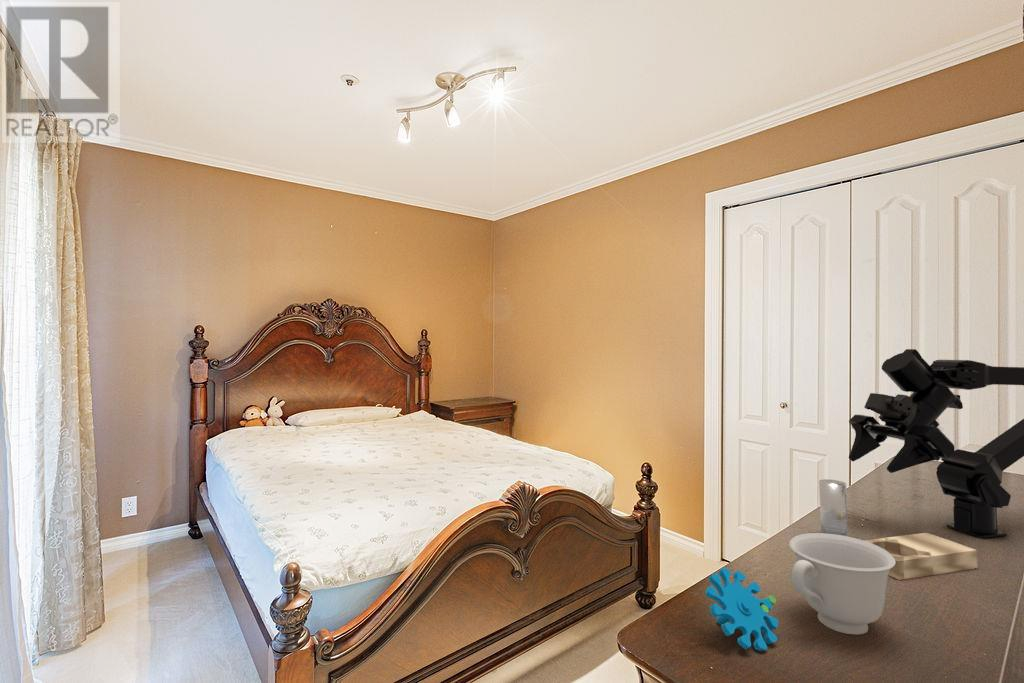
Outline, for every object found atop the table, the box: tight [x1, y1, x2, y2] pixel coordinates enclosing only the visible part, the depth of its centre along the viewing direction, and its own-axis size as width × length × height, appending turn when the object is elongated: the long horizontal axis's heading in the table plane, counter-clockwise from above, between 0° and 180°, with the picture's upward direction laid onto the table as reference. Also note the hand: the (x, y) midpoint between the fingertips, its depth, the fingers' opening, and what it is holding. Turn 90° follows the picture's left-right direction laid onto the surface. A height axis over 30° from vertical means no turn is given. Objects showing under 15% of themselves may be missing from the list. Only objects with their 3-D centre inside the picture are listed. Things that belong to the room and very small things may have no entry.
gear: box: [704, 567, 779, 652], centre depth 65 cm, size 11×6×10 cm
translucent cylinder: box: [818, 478, 849, 537], centre depth 94 cm, size 4×4×11 cm
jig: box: [863, 532, 979, 581], centre depth 83 cm, size 16×8×3 cm, turn 101°
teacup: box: [788, 532, 896, 636], centre depth 66 cm, size 12×15×10 cm
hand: (868, 465), depth 94 cm, fingers open, 9 cm apart
